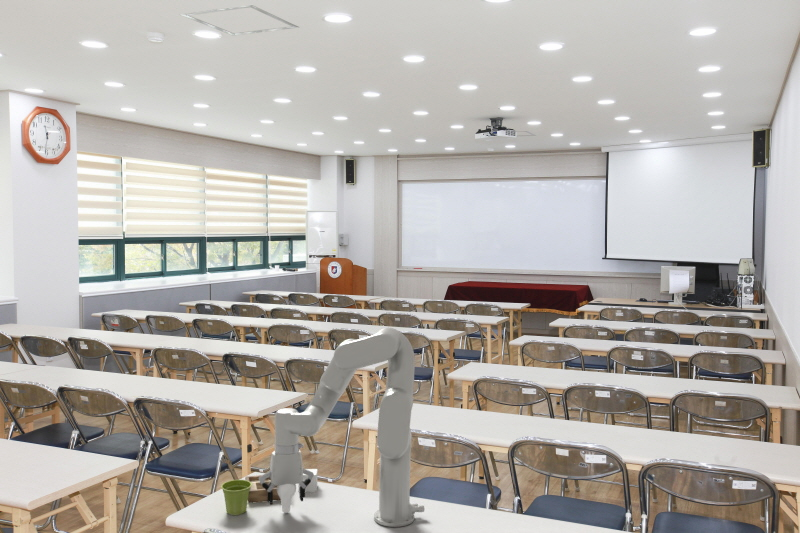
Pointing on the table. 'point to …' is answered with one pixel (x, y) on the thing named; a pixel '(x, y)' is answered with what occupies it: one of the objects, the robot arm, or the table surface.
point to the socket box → (259, 490)
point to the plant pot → (236, 496)
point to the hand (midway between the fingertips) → (286, 501)
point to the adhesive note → (313, 484)
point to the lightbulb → (286, 495)
